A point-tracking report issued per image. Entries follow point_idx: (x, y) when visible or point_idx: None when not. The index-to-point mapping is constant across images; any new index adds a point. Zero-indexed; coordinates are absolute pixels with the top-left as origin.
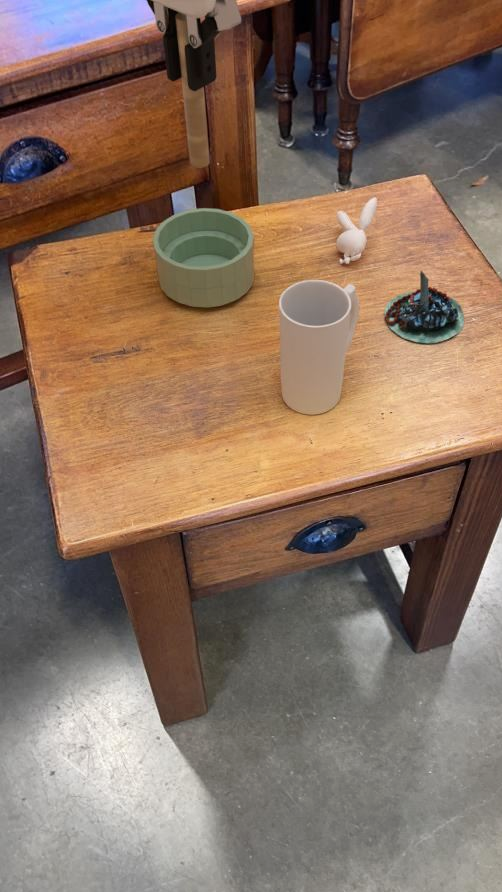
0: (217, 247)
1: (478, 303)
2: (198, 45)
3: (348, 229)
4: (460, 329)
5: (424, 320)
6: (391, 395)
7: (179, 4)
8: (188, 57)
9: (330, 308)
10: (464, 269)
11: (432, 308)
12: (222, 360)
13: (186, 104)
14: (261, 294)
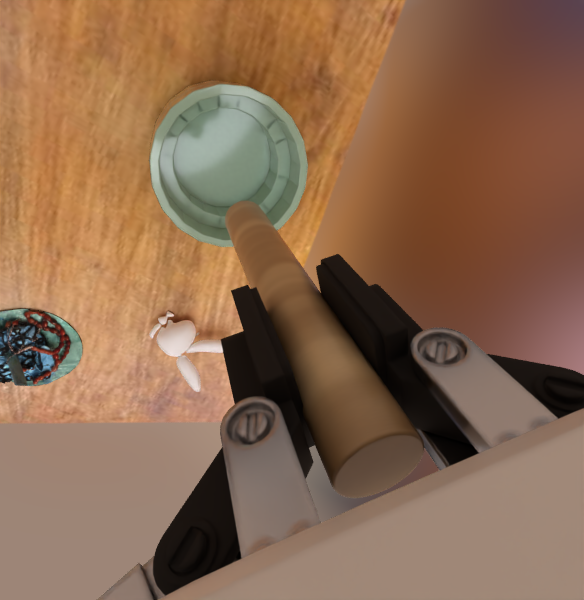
0: (255, 198)
1: (33, 400)
2: (223, 424)
3: (195, 344)
4: None
5: None
6: None
7: None
8: (259, 352)
9: None
10: (98, 408)
11: (6, 363)
12: (35, 73)
13: (273, 256)
14: (160, 206)
